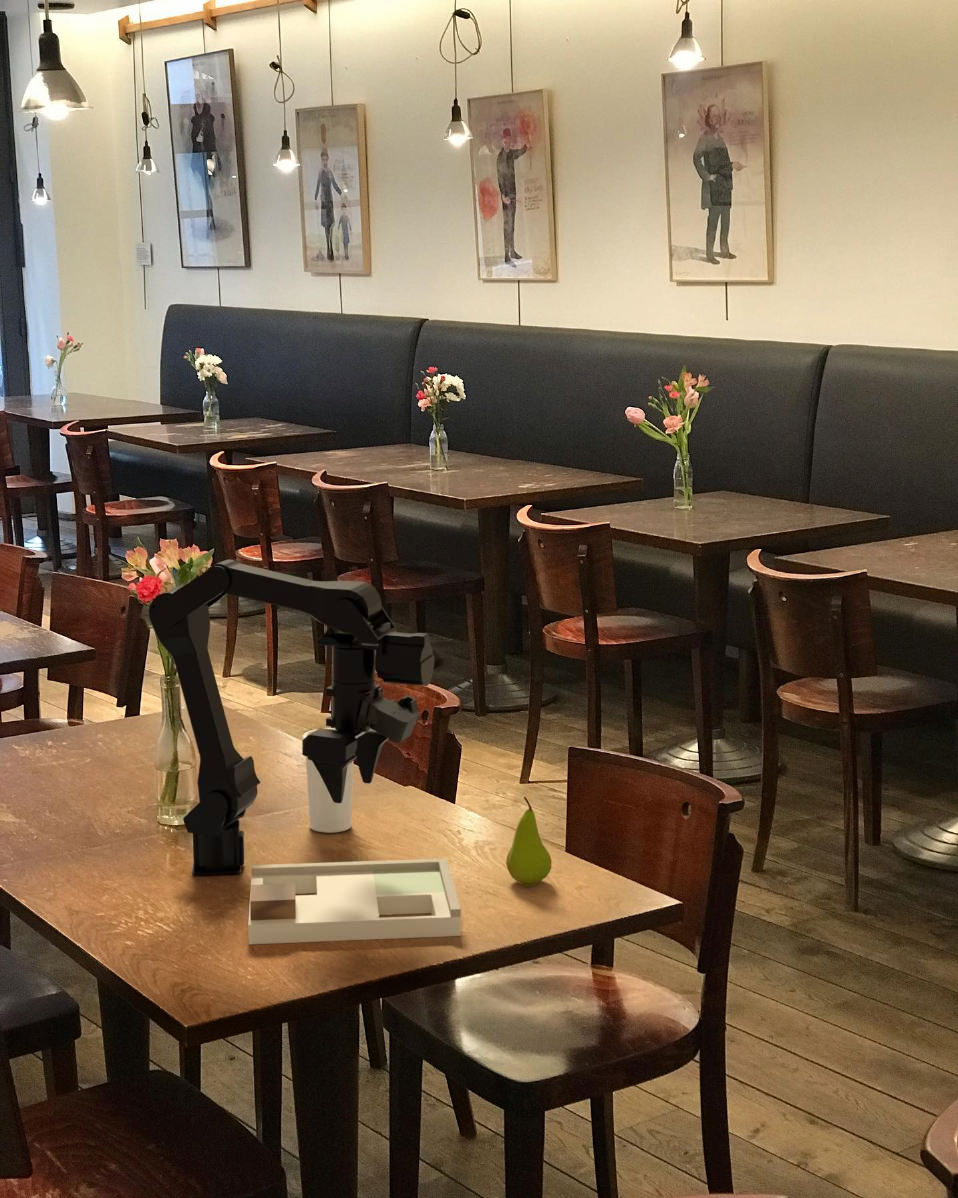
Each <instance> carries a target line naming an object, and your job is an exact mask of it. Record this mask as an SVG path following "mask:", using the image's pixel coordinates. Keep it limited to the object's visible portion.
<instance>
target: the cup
mask: <svg viewBox="0 0 958 1198" xmlns="http://www.w3.org/2000/svg"><path fill="white" fill-rule="evenodd" d="M318 729H319V728H318ZM318 729H316V728H315V729H312V730H309V731H306V732H305V733H304V734H303V735H302V736H301V739H302V740H303V739H305V738H306V737H307V736H308V735H309V734H311V733H312V732H314V731H316V730H318ZM324 729H331V730H335V727H328V728H324ZM302 740H301V741H302ZM354 761H355V759H354V760H353V761H352V762H351V763H350V764H349V765H348V767H347V773H346V781H345V789H344V795H343V800H342V803H334V802H333V800H332V798H331V796H330V794H329V792H328V790H327V788H326V786H325V784H324V782H323V780H322V778H321V776H320V774H319V772H318V770H317V769H316V767H315V765H314V764H313V762H312V760H309V759H308V757H307V756H305V763H306V764H305V765H306V783H307V797H308V798H307V799H308V812H309V813H308V814H309V828H310V829H311V830H313V831H314V832H315V831H316V832H320V833H327V834H329V833H340V832H345V831H347V830H349V829H351V827H352V826H353V824H352V821H353V820H352V819H353V793H354V792H353V790H354V789H353V786H354V785H353V784H354Z"/></svg>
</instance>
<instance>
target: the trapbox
mask: <svg viewBox="0 0 958 1198" xmlns="http://www.w3.org/2000/svg"><path fill="white" fill-rule="evenodd" d="M250 870H251V878H250V879H251V881H250V886H251V885H260V884H287V883H295V896H296V919H275V920H251V916H250V906H249V908H248V909H249V910H248V925H247V926H248V928H247V929H248V930H247V931H248V933H247V934H248V945H267V944H268V945H269V944H290V943H292V944H293V943H296V944H297V943H313V942H318V943H320V942H339V941H342V942H343V941H364V940H367V941H368V940H369V941H370V940H389V939H391V940H392V939H414V938H415V939H416V938H442V937H461V934H462V933H461V925H462V924H461V920H462V919H461V917H462V916H461V913H462V911H461V910H462V909H461V905H460V902H459V899H458V895H457V892H456V891H457V890H456V887H455V883H454V881H453V880H454V879H453V876H452V873H451V869H450V865H449V861H448V858H447V857H445V858H444V857H443V858H425V859H424V858H423V859H421V858H420V859H418V858H417V859H395V860H394V859H391V860H390V859H389V860H388V859H387V860H363V861H362V860H361V861H360V860H359V861H334V862H331V861H330V862H305V863H279V864H277V863H276V864H275V863H274V864H251V869H250ZM297 894H298V895H297ZM301 894H302V895H301ZM307 894H308V895H307ZM249 895H250V896H251V891H250V894H249ZM418 914H431V915H419V916H417V915H418ZM388 915H389V916H391V915H415V916H394V917H393V916H392V917H380V916H388Z"/></svg>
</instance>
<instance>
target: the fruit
mask: <svg viewBox="0 0 958 1198" xmlns="http://www.w3.org/2000/svg"><path fill="white" fill-rule="evenodd" d="M523 799H524V801H525V802H526V804H527V806H528V809H526V810H525V811H524V813H523V815H522V816H521V817H520V818H519V819H520V820H519V821H518V823H517V826H516V829H515V831H514V836H513V841H512V845H511V847H510V849H509V851H508V853H507V856H506V862H505V865H506V869H507V870H508V873H509V875H510V876H511V878H512V879H514V880H515V881H516V882H517V883H518V884H521V886H525V887H527V886H528V887H530V886H531V887H532V886H535V885H537V884H539V883H540V882H542V881H543V880H544V879H546V878H547V877H548V875H549V874H550V872H551V870H552V863H553V862H552V861H553V860H552V858H551V854H550V853H549V850H548V849H547V848H546V847H545V845H544V843H543V842H542V840H541V837H540V833H539V831H538V825H537V819H536V816H535V812H534V810H533V808H532V806H531V804H530V801H529V800H528V798H527V797H526V796H524V797H523Z"/></svg>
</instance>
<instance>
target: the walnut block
mask: <svg viewBox="0 0 958 1198" xmlns="http://www.w3.org/2000/svg"><path fill="white" fill-rule="evenodd" d="M250 892H251V896H250V897H249V907H250V916H251V920H275V919H296V896H297V895H296V894H295V883H287V884H260V885H251V884H250Z"/></svg>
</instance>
